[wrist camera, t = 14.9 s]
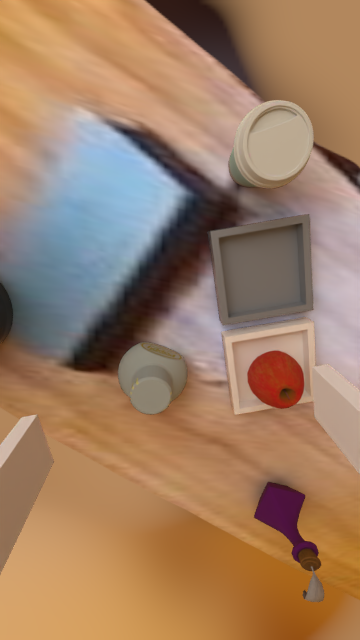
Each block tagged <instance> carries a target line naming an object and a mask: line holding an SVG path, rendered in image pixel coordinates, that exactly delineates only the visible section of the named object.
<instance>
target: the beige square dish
mask: <svg viewBox="0 0 360 640" xmlns="http://www.w3.org/2000/svg"><path fill="white" fill-rule="evenodd" d="M221 334H222V341H223V348H224V356H225V363H226V371H227V378H228V385H229V393H230V400H231V406H232V409H233V412H234V414H235V415H237V414H242V413H248V412H254V411H260V410H266V409H271V408H276V407H272V406H269V405H267V404H265V403H263V402H261V401H260V400H259V399H258V398H257V397H256V396H255V395H254V394H253V392H252V391H251V389H250V386H249V384H248V376H247V373H248V370H249V367H250V365H251V364H252V362H253V361H254V360H255V359H256V358H257V357H258V356H260V355H262V354H264V353H266V352H269V351H274V350H279V351H282V352H285V353H287V354H288V355H290V356H291V357H293V358H294V359H295V360H296V361H297V362H298V364H299V365H300V366H301V368H302V370H303V374H304V391H303V394H302V397H301V399H300V400H299V402H298V403H297V404H300V403H306V402H312V401H314V398H313V376H312V367H315V366H316V365H315V340H314V322H313V321H311V320H310V319H308V318H306V317H302V318H297V319H291V320H285V321H279V322H274V323H268V324H262V325H256V326H250V327H245V328H239V329H233V330H227V331H222V332H221Z"/></svg>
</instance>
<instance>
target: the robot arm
mask: <svg viewBox="0 0 360 640" xmlns="http://www.w3.org/2000/svg"><path fill="white" fill-rule="evenodd" d="M12 318H13V313H12V305H11V302H10V299H9V296H8V294H7V292H6V290H5V289H4V287H3V286H2V284H1V283H0V343H1V342H2V341H3V340H4V339H5V338H6V336H7V335H8V333H9V331H10V328H11V325H12ZM312 376H313V398H314V417H315V418H316V420H317V421H318V422H319V423H320V425H321V426H322V427H323V429H324V430H325V431H326V432H327V434H328V435H329V436H330V437H331V439H332V440H333V441H334V442H335V444H336V445H337V446H338V448H339V449H340V450H341V451H342V453H343V454H344V455H345V456H346V458H347V459H348V460H349V461H350V463H351V464H352V465H353V467H354V468H355V469H356V470H357V472H358V473H359V474H360V390H358V389H357V388H356V387H355V386H354V385H352V384H351V383H350V382H349V381H348V380H346V379H345V378H344V377H343V376H342V375H340V374H339V373H338V372H337V371H336V370H335V369H333V368H332V367H331V366H330V365H329V364H326V365H321V366H315V367H312ZM53 463H54V461H53V458H52V455H51V452H50V449H49V446H48V444H47V440H46V438H45V435H44V432H43V429H42V426H41V423H40V420H39V418H38V415H31V416H25V417H21V418H20V420H19V421H18V423H17V424H16V425H15V426H14V428H13V429H12V430H11V432H10V433H9V434H8V436H7V437H6V438H5V439H4V441H3V442H2V443H1V445H0V574H1V572H2V570H3V568H4V566H5V564H6V561H7V559H8V557H9V555H10V553H11V551H12V549H13V547H14V545H15V542H16V540H17V538H18V536H19V534H20V532H21V530H22V528H23V526H24V524H25V522H26V519H27V517H28V515H29V513H30V511H31V509H32V507H33V505H34V502H35V501H36V498H37V496H38V494H39V492H40V490H41V488H42V486H43V484H44V482H45V479H46V477H47V475H48V473H49V471H50V469H51V467H52V465H53Z"/></svg>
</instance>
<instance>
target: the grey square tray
mask: <svg viewBox="0 0 360 640" xmlns="http://www.w3.org/2000/svg"><path fill="white" fill-rule="evenodd" d="M208 237H209V245H210V252H211V260H212V267H213V274H214V282H215V289H216V297H217V304H218V311H219V319H220V321H221V323H222V325H229V324H234V323H240V322H246V321H252V320H257V319H263V318H269V317H275V316H280V315H286V314H292V313H298V312H304V311H309V310H313V292H312V268H311V244H310V220H309V214H307V215H298V216H293V217H287V218H281V219H275V220H270V221H264V222H258V223H253V224H247V225H241V226H235V227H230V228H224V229H218V230H212V231H208Z"/></svg>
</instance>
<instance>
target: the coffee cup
mask: <svg viewBox="0 0 360 640" xmlns="http://www.w3.org/2000/svg"><path fill="white" fill-rule="evenodd" d="M312 147H313V128H312V124H311V121H310V119H309V117H308V116H307V115H306V113H305V112H304V110H302V109H301V108H300V107H299V106H298V105H296V104H294V103H291V102H288V101H282V100H273V101H268V102H265V103H263V104H260V105H259V106H257V107H255V108H254V109H252V110H251V111H250V112H249V113H248V114H247V115H246V116H245V117H244V119H243V120H242V122H241V123H240V125H239V127H238V129H237V132H236V135H235V140H234V147H233V150H232V153H231V155H230V158H229V172H230V175H231V177H232V179H233V180H234V181H235V182H236V183H237V184H239V185H241V186H244V187H261V188H268V189H271V188H278V187H281V186H284V185H286V184H288V183H289V182H291V181H292V180H293V179H295V178H296V177H297V176H298V175H299V174H300V173H301V171H302V170H303V169H304V167H305V166H306V164H307V162H308V160H309V157H310V154H311V151H312Z"/></svg>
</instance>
